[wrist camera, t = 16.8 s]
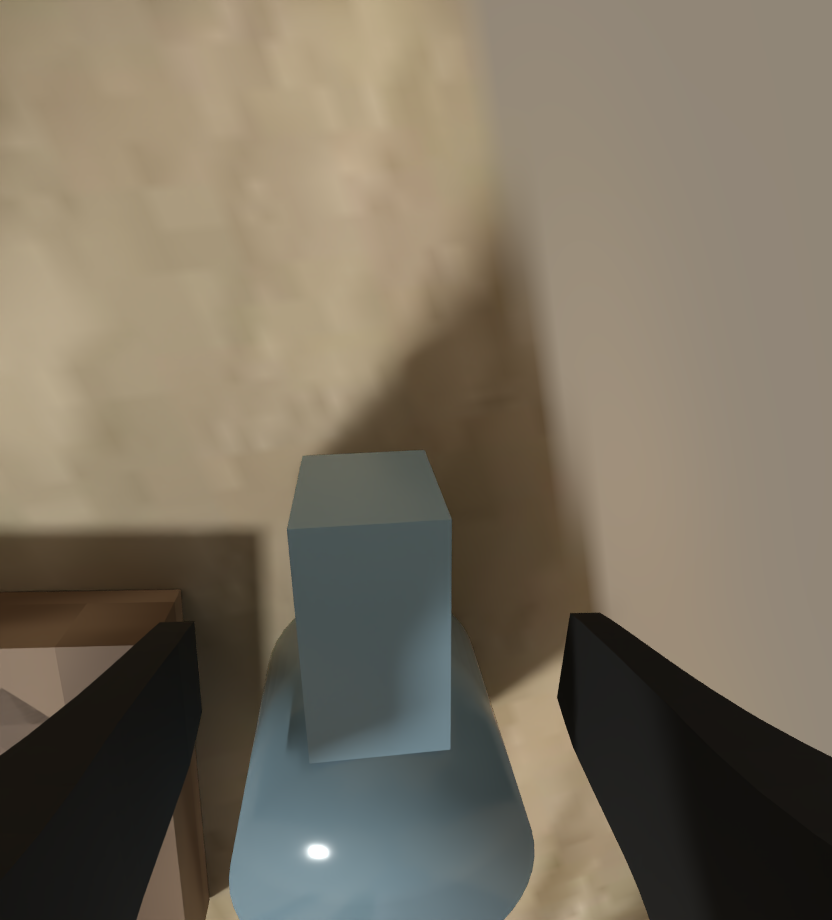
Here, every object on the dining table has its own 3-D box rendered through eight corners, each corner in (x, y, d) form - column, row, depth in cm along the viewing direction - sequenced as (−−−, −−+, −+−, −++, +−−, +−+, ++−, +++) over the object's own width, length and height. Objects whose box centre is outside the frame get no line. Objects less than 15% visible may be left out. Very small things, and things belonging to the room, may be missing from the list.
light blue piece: (474, 748, 16) (527, 955, 11) (277, 767, 15) (246, 994, 11) (481, 417, 13) (559, 512, 8) (236, 428, 12) (169, 536, 8)
